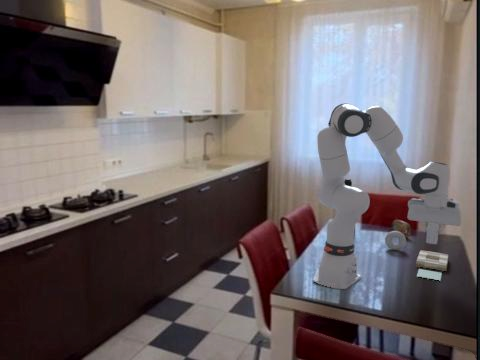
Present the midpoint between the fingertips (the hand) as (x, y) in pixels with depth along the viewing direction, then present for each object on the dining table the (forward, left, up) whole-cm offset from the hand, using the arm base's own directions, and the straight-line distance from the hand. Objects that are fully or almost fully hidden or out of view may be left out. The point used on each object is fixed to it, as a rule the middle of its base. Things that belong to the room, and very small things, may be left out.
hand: (432, 232), depth 163 cm
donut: (+27, +18, -19) cm, 37 cm away
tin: (+55, +19, -19) cm, 61 cm away
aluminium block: (0, 0, -4) cm, 4 cm away
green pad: (0, 0, -19) cm, 19 cm away
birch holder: (+16, 0, -19) cm, 25 cm away
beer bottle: (+37, +46, -19) cm, 62 cm away
